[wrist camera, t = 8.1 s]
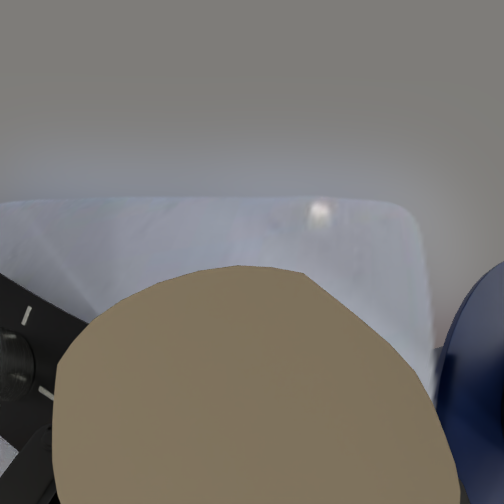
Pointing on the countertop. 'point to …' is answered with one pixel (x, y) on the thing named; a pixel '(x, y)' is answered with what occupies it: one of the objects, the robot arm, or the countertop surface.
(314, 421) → the handle
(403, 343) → the countertop surface
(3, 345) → the dial
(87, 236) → the countertop surface
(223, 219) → the countertop surface
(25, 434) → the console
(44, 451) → the robot arm
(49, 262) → the countertop surface
